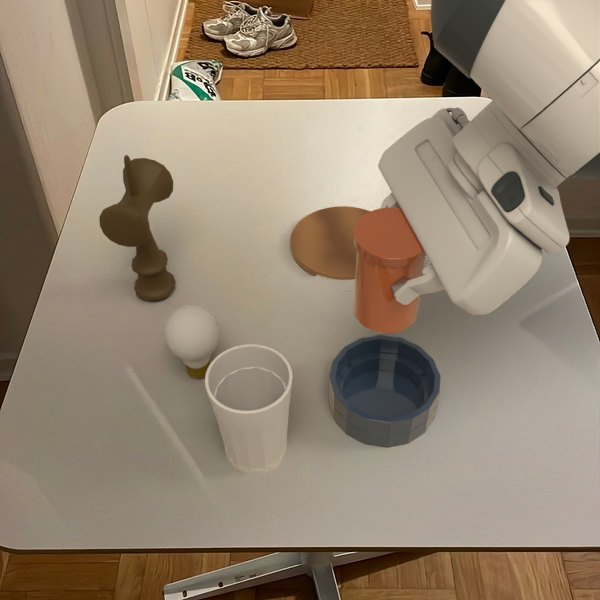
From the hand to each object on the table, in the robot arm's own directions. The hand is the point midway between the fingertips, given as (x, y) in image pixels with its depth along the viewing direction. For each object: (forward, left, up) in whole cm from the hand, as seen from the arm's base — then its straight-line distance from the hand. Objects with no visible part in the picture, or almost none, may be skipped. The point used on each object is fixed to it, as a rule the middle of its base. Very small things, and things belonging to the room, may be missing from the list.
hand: (383, 268), depth 67 cm
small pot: (-1, 0, -6) cm, 6 cm away
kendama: (+12, -28, -19) cm, 36 cm away
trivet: (-12, -21, -18) cm, 30 cm away
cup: (+14, -1, -19) cm, 24 cm away
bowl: (0, +2, -18) cm, 19 cm away
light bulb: (+14, -13, -19) cm, 27 cm away
